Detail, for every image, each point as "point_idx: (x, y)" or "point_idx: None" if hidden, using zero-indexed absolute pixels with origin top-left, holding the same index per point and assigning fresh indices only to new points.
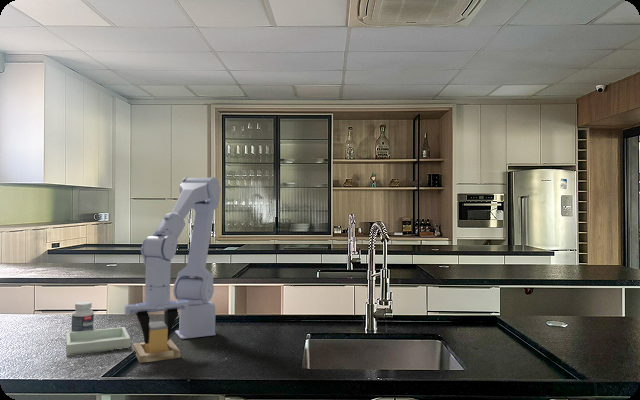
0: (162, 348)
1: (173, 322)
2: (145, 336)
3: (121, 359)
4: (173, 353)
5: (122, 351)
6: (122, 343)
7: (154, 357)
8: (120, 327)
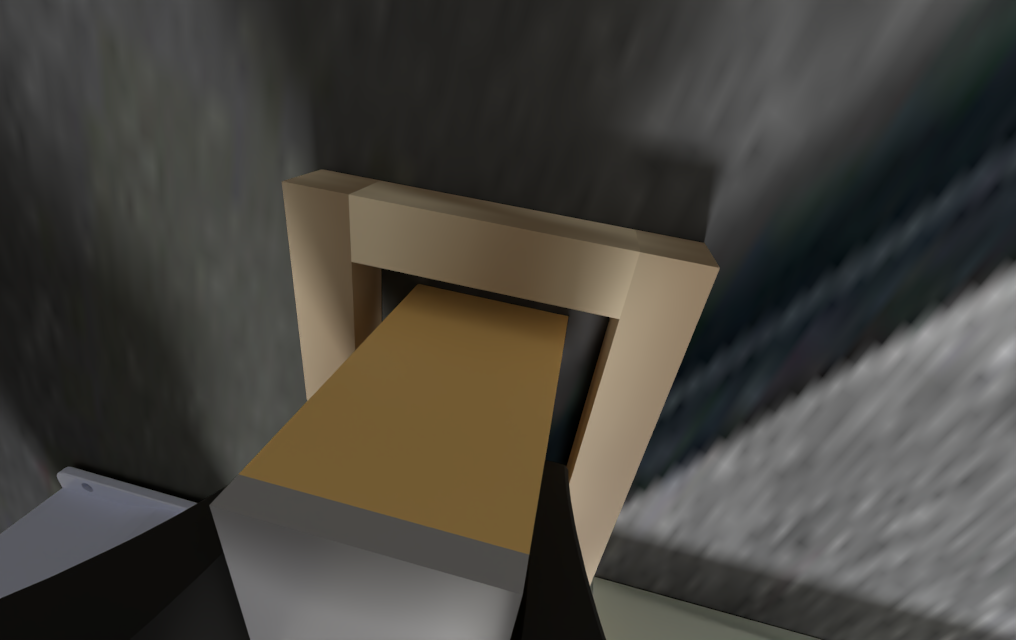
0: (432, 327)
1: (80, 567)
2: (571, 531)
3: (774, 429)
4: (358, 193)
5: (665, 559)
6: (647, 632)
7: (557, 226)
8: None
